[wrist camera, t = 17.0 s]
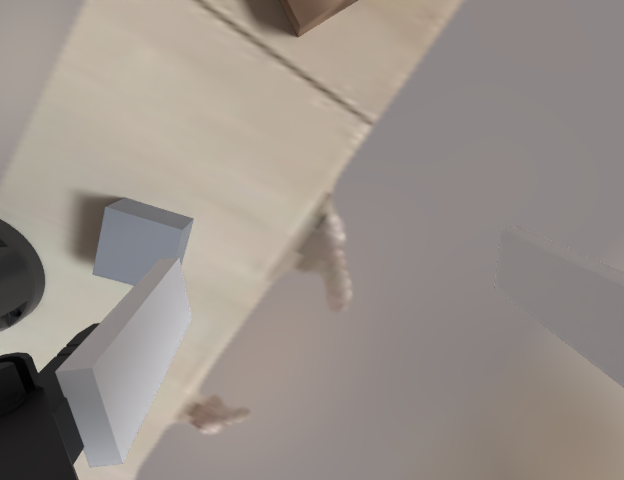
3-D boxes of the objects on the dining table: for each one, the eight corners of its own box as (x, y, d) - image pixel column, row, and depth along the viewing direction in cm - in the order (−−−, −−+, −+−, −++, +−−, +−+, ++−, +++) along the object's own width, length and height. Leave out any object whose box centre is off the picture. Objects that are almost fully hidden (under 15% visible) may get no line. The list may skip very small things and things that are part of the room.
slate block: (113, 258, 43) (92, 274, 38) (126, 197, 41) (105, 206, 36) (178, 276, 44) (166, 294, 40) (194, 218, 42) (182, 230, 38)
